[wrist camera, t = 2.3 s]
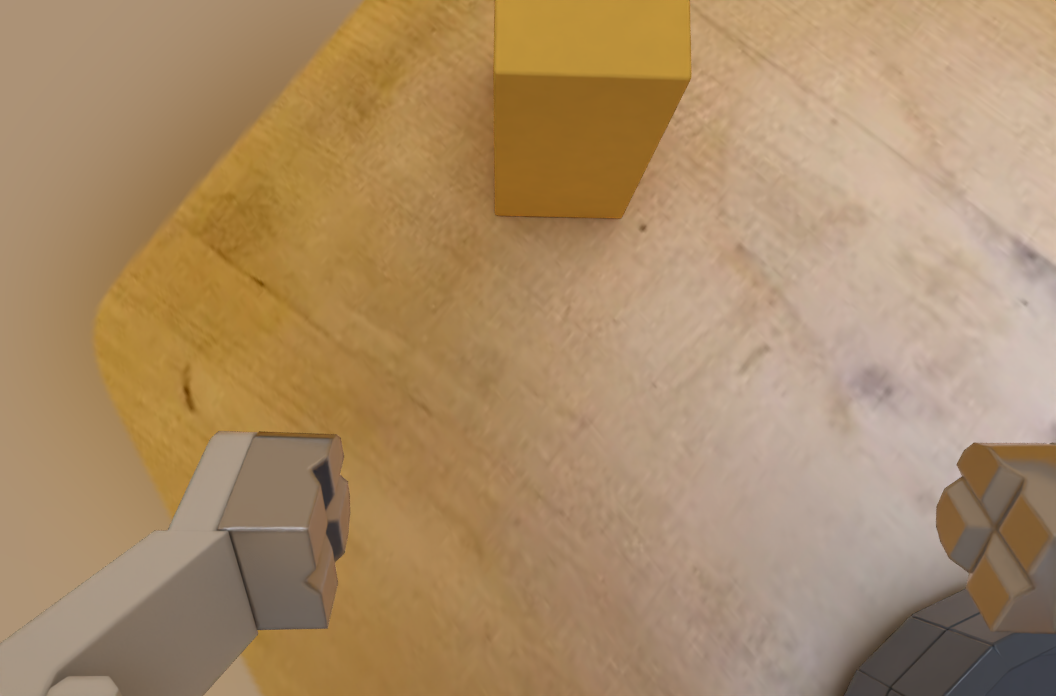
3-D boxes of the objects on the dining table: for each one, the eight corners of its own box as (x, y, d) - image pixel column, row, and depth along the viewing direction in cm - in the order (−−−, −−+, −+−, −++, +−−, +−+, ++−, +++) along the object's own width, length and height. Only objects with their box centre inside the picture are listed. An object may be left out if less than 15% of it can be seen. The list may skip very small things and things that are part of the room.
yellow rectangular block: (494, 216, 27) (493, 72, 17) (498, 57, 28) (497, -165, 18) (621, 219, 27) (692, 79, 17) (620, 61, 28) (687, -157, 18)
